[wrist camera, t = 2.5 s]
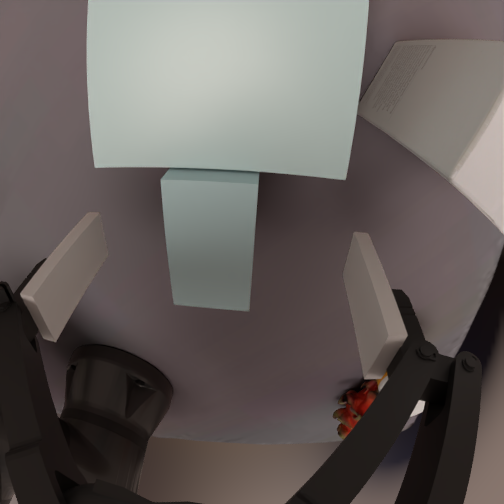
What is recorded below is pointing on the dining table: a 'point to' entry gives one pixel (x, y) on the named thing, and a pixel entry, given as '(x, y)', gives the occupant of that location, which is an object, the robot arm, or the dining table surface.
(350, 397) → the dragon fruit
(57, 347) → the dining table surface
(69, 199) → the dining table surface
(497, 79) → the small box
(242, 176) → the lid
